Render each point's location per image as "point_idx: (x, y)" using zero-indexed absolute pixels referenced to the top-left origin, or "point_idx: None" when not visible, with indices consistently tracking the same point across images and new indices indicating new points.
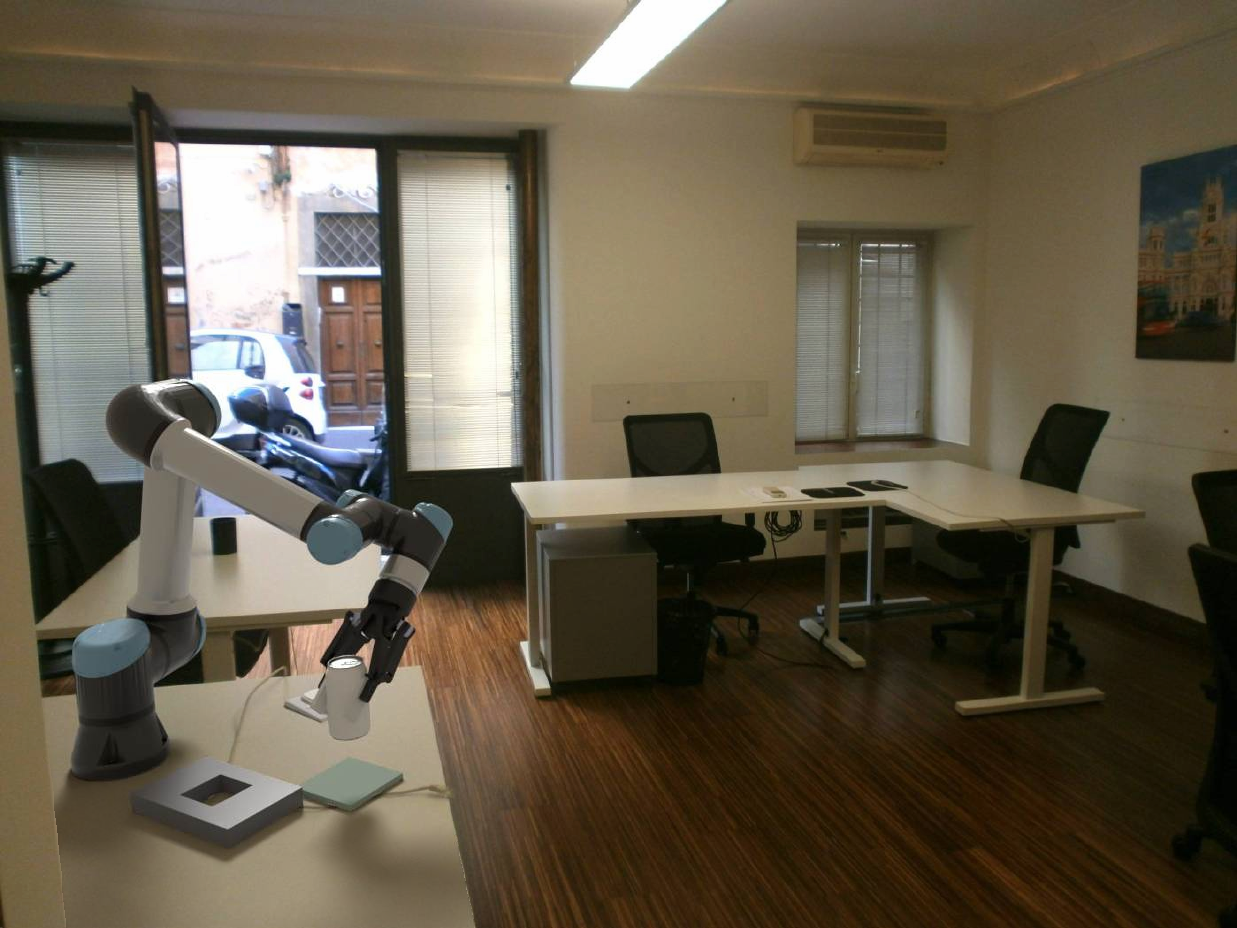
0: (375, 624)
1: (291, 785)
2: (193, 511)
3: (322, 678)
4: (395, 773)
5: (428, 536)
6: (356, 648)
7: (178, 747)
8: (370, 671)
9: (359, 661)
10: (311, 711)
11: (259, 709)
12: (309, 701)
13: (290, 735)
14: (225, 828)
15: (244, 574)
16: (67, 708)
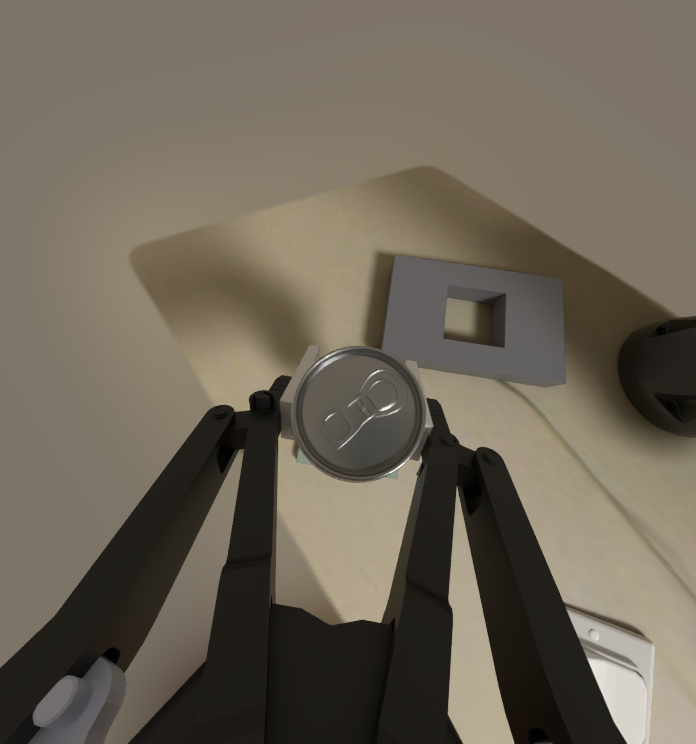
0: (302, 732)
1: (396, 353)
2: None
3: (443, 418)
4: (304, 456)
5: None
6: (402, 549)
7: (648, 433)
8: (267, 419)
9: (322, 444)
10: (574, 620)
11: (668, 602)
12: (608, 655)
13: (537, 526)
14: (398, 255)
15: None
16: None
